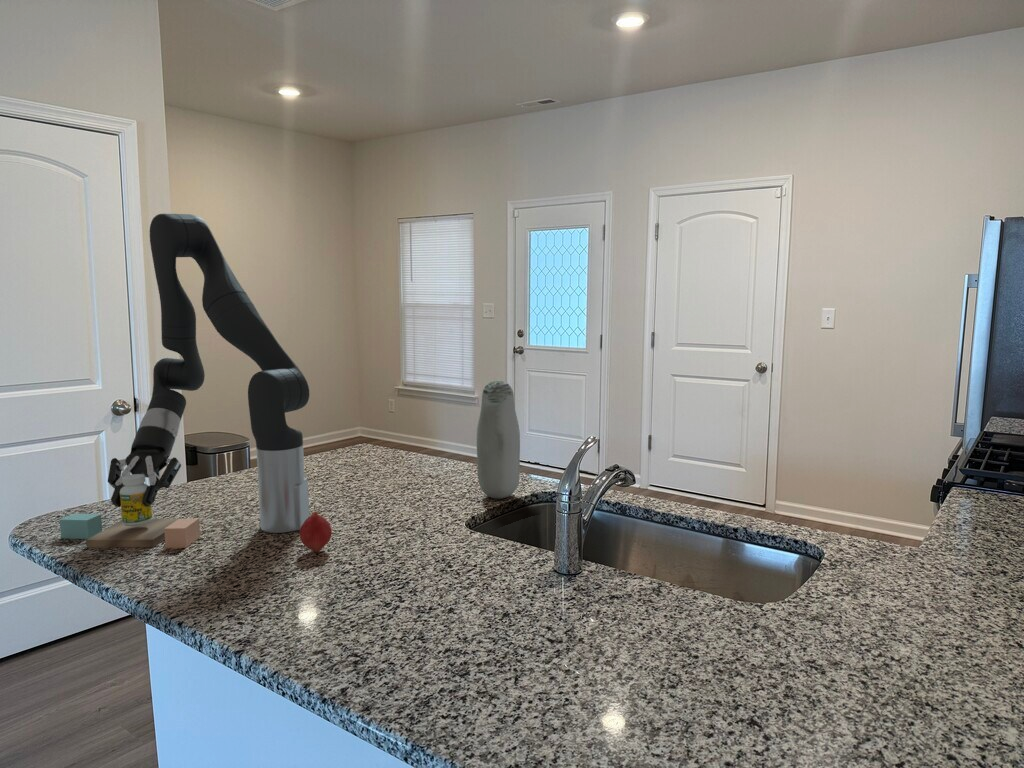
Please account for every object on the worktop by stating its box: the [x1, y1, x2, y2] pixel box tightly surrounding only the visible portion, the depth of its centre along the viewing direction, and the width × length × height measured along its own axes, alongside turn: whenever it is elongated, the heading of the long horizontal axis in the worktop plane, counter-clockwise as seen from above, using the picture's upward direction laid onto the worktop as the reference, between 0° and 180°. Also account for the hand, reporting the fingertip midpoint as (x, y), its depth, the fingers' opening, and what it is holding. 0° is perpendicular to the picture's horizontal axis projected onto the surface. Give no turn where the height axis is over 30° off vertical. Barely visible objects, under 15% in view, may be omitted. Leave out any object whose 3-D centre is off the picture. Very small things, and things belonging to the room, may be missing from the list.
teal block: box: [59, 513, 103, 540], centre depth 140 cm, size 6×4×4 cm, turn 84°
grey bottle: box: [476, 380, 521, 500], centre depth 163 cm, size 10×10×28 cm
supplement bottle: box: [120, 474, 153, 526], centre depth 138 cm, size 5×5×10 cm
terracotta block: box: [164, 518, 201, 549], centre depth 135 cm, size 6×4×4 cm, turn 0°
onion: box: [299, 510, 332, 553], centre depth 129 cm, size 6×6×8 cm
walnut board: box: [85, 517, 186, 549], centre depth 139 cm, size 13×13×2 cm
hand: (131, 504), depth 137 cm, fingers closed on supplement bottle, 5 cm apart
